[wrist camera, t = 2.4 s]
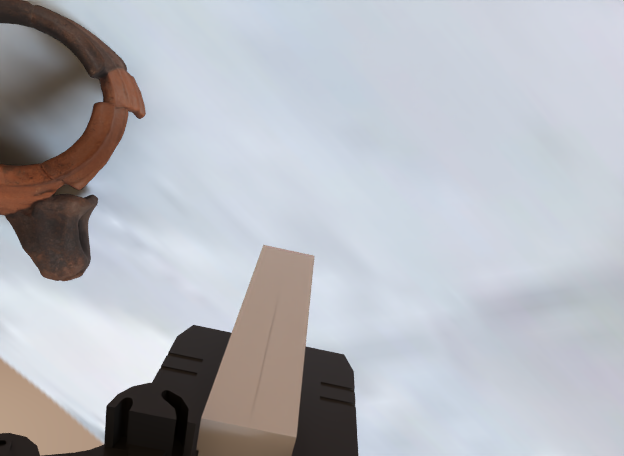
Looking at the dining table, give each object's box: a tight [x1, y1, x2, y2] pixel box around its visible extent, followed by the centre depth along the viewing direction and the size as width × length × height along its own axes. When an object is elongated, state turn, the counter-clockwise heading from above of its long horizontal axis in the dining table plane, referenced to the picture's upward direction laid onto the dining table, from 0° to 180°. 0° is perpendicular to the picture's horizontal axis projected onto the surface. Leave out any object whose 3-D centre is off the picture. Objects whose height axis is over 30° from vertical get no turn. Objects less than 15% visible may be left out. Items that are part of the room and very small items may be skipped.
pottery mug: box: [0, 0, 146, 281], centre depth 21 cm, size 12×10×8 cm
